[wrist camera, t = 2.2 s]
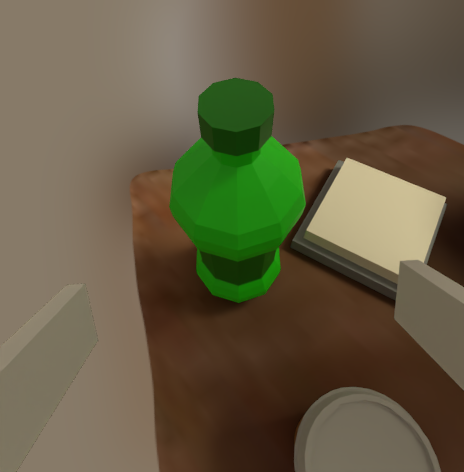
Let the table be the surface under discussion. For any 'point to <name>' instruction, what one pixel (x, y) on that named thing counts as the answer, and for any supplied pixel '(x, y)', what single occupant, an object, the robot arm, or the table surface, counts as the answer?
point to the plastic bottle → (237, 191)
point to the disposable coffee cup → (360, 436)
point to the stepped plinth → (370, 225)
